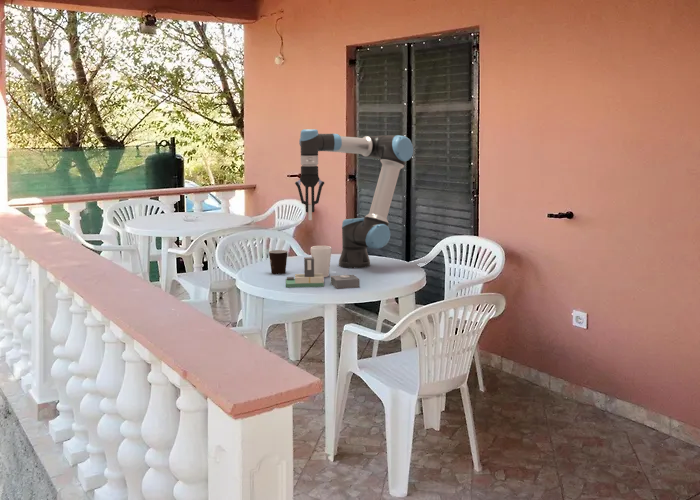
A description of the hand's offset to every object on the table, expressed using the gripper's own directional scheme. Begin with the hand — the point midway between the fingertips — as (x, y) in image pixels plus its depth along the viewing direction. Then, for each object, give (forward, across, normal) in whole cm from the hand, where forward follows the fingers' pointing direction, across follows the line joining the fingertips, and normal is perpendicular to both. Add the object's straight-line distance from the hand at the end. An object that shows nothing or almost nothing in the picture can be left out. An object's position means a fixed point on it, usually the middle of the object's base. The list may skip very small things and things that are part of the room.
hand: (310, 219), depth 329 cm
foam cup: (+27, +5, +7) cm, 28 cm away
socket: (+25, -1, -12) cm, 28 cm away
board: (+26, -3, -11) cm, 29 cm away
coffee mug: (+27, -14, +17) cm, 35 cm away
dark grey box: (+26, +14, -15) cm, 33 cm away
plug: (+25, -1, -12) cm, 28 cm away
